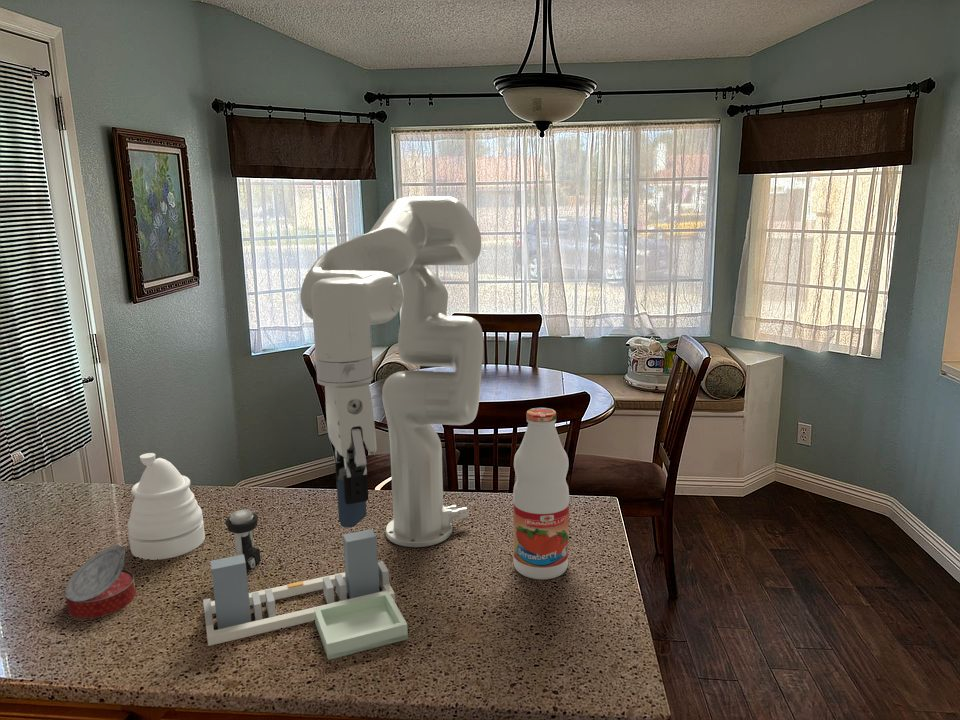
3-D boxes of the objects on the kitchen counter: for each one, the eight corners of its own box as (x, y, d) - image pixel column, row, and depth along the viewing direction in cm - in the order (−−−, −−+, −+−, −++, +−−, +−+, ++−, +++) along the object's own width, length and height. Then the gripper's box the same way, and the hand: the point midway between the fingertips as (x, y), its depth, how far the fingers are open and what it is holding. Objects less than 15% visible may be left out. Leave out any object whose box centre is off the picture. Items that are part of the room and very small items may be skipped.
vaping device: (370, 513, 105) (366, 435, 102) (352, 529, 100) (347, 448, 97) (354, 511, 106) (349, 433, 103) (336, 527, 101) (331, 446, 98)
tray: (389, 605, 114) (388, 591, 113) (407, 639, 105) (407, 623, 105) (315, 623, 109) (314, 608, 109) (328, 660, 101) (327, 644, 100)
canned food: (130, 633, 116) (121, 598, 109) (61, 634, 114) (48, 600, 107) (146, 571, 124) (138, 536, 118) (82, 572, 122) (71, 536, 116)
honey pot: (159, 566, 127) (146, 470, 123) (116, 548, 134) (102, 456, 129) (219, 537, 137) (210, 447, 133) (176, 521, 144) (166, 436, 140)
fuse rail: (378, 572, 124) (375, 518, 121) (395, 601, 115) (392, 543, 113) (204, 611, 113) (197, 552, 111) (208, 646, 104) (200, 583, 102)
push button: (244, 580, 122) (238, 526, 119) (218, 575, 124) (212, 521, 121) (268, 562, 128) (263, 509, 125) (244, 557, 130) (238, 505, 127)
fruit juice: (563, 552, 129) (565, 402, 123) (572, 580, 120) (574, 419, 114) (511, 554, 129) (510, 403, 123) (515, 582, 120) (515, 421, 114)
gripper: (389, 380, 92) (395, 513, 96) (357, 354, 107) (363, 470, 111) (330, 387, 89) (339, 524, 93) (305, 359, 104) (314, 478, 108)
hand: (352, 493), depth 102 cm, fingers closed on vaping device, 4 cm apart
